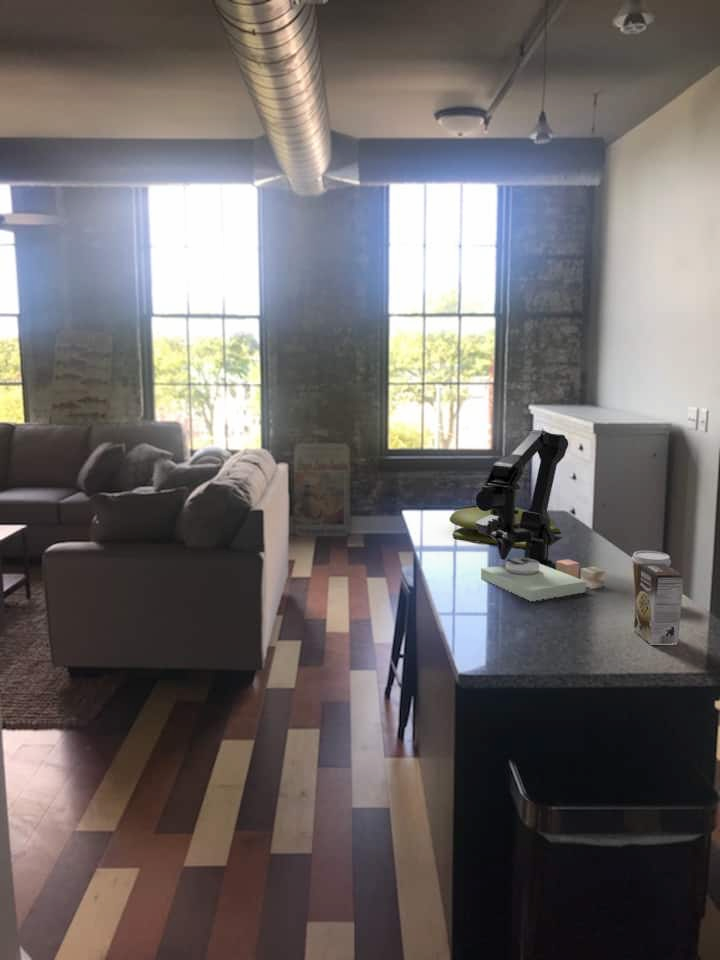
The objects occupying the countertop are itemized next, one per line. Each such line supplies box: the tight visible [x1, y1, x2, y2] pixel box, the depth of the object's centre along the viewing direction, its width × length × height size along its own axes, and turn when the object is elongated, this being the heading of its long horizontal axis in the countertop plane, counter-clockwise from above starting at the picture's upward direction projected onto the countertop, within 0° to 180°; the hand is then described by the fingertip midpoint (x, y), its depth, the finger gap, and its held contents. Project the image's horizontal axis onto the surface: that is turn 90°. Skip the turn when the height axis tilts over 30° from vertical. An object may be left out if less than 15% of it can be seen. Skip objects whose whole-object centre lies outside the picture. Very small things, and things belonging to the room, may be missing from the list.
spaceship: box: [449, 504, 561, 549], centre depth 265 cm, size 35×31×10 cm
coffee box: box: [633, 563, 685, 645], centre depth 168 cm, size 9×6×16 cm
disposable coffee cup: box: [631, 550, 672, 600], centre depth 194 cm, size 10×10×12 cm
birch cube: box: [579, 566, 606, 589], centre depth 207 cm, size 4×4×4 cm
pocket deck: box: [480, 563, 587, 602], centre depth 207 cm, size 18×22×3 cm
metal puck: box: [505, 557, 539, 575], centre depth 210 cm, size 9×9×2 cm
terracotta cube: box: [555, 558, 580, 579], centre depth 214 cm, size 4×4×4 cm
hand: (503, 559), depth 218 cm, fingers closed
